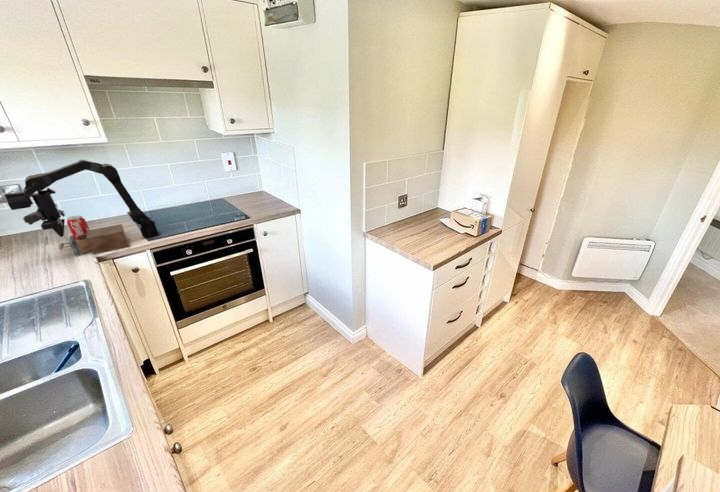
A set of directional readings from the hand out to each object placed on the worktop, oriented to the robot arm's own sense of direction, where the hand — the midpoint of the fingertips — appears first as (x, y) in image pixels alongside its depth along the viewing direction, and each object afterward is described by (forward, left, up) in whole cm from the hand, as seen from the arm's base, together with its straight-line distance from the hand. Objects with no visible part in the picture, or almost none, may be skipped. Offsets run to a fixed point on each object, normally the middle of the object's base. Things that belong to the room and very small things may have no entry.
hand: (62, 236), depth 150 cm
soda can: (-4, -19, -10) cm, 22 cm away
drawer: (-6, 0, -9) cm, 11 cm away
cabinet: (-15, 0, -10) cm, 18 cm away
